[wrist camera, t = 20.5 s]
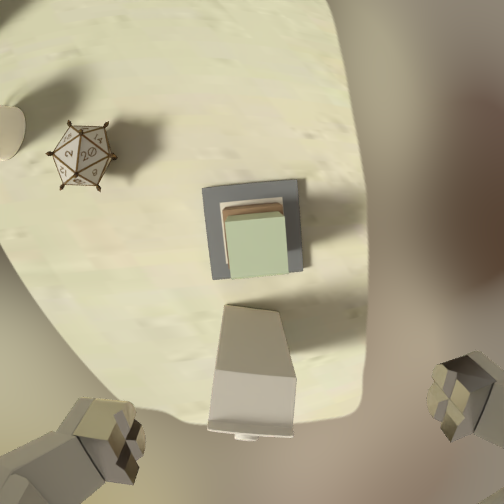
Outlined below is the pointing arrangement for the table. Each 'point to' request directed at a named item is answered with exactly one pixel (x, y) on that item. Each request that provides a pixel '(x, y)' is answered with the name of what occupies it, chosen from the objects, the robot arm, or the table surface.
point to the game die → (83, 155)
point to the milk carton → (252, 376)
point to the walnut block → (249, 210)
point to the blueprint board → (246, 195)
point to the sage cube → (257, 245)
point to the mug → (11, 131)
